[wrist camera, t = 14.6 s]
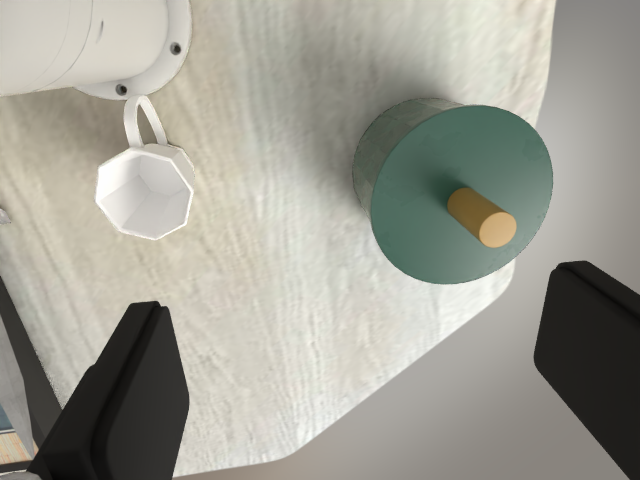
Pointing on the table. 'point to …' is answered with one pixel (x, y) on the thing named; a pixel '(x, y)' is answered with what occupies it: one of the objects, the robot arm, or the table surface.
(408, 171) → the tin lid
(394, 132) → the green tin
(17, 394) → the dagger
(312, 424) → the table surface
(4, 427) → the framed painting
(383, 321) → the table surface
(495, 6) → the table surface
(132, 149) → the cup
